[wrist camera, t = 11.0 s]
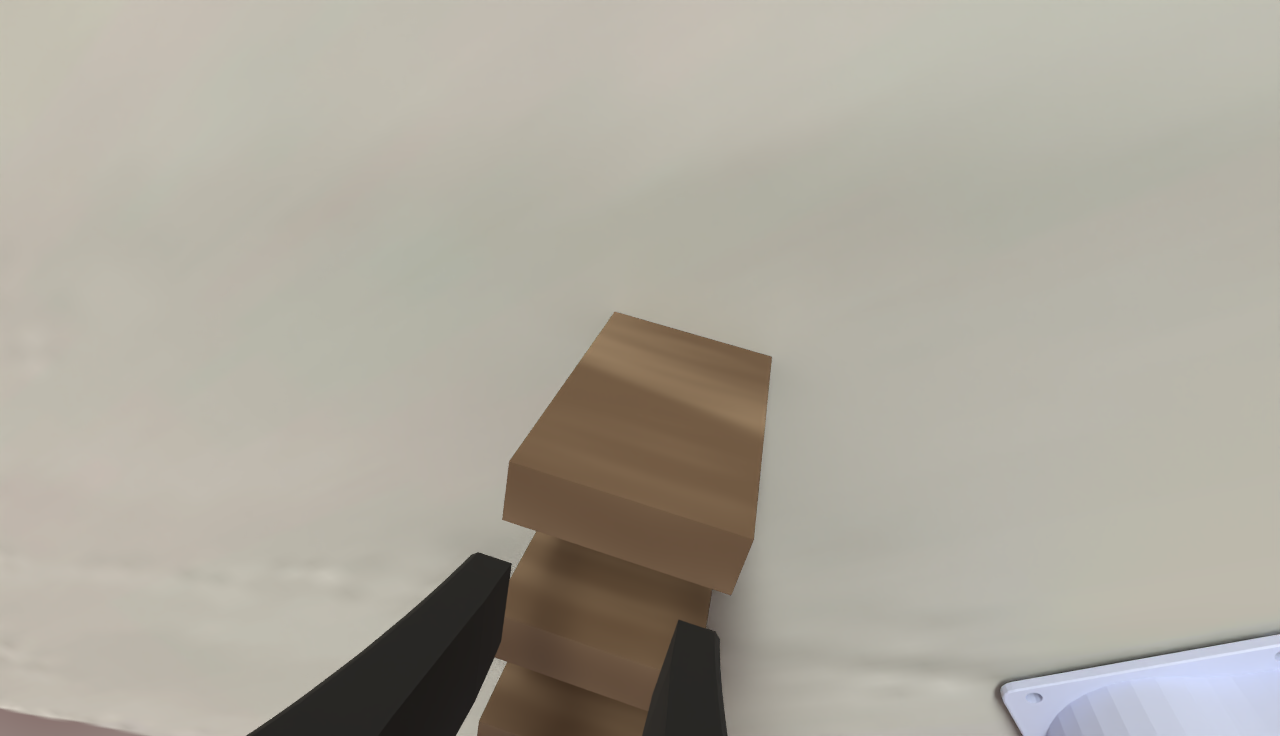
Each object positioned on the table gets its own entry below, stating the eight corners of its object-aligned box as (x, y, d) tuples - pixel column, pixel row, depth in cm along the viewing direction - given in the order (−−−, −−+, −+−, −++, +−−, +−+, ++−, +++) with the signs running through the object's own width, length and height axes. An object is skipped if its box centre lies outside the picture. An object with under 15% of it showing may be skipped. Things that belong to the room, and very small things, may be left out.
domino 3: (573, 524, 24) (479, 720, 17) (698, 565, 23) (655, 786, 16) (567, 553, 24) (475, 753, 18) (689, 593, 24) (643, 816, 17)
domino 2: (591, 430, 21) (491, 612, 15) (731, 473, 21) (696, 683, 14) (584, 466, 22) (486, 654, 15) (719, 508, 22) (680, 722, 15)
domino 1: (756, 400, 19) (731, 595, 13) (606, 355, 20) (502, 519, 13) (771, 357, 19) (753, 539, 12) (614, 311, 19) (509, 461, 12)
